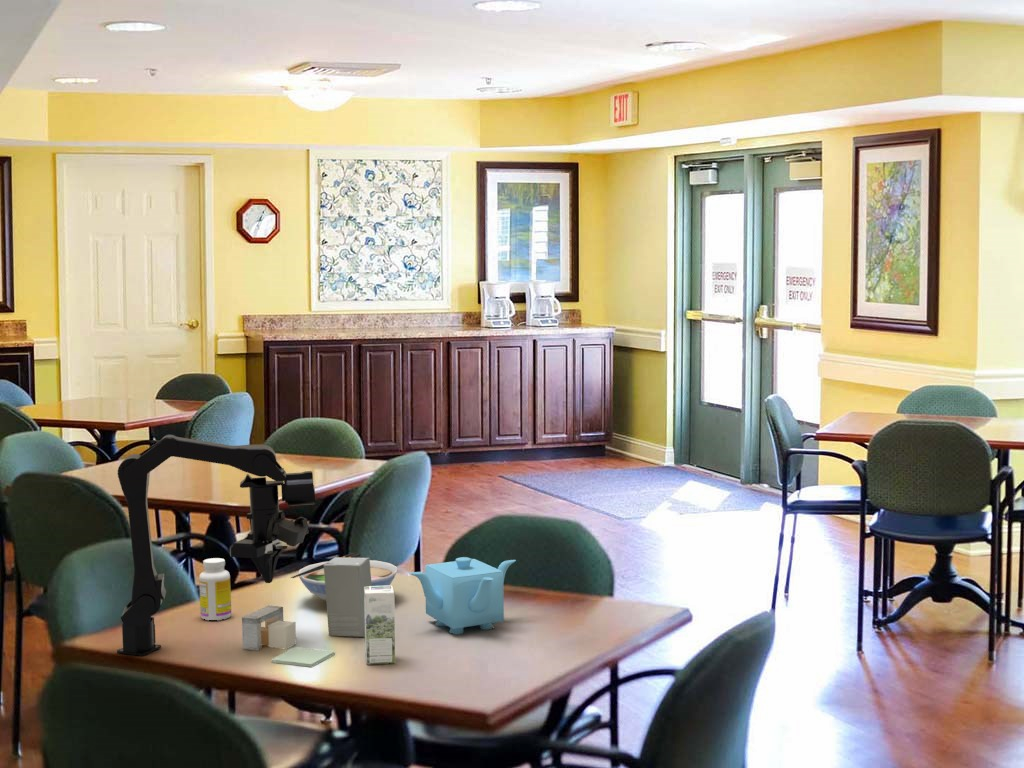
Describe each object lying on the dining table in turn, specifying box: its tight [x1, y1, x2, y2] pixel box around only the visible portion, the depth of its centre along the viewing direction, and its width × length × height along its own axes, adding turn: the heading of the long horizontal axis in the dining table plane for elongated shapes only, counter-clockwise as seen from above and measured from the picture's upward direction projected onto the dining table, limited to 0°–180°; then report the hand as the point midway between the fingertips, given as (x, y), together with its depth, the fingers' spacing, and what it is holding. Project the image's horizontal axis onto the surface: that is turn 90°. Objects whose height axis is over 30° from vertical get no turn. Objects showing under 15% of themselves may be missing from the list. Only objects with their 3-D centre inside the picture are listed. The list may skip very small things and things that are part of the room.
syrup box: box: [364, 584, 396, 665], centre depth 270 cm, size 6×6×14 cm
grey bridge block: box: [241, 604, 284, 651], centre depth 283 cm, size 10×4×6 cm, turn 158°
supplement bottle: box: [198, 557, 232, 621], centre depth 303 cm, size 7×7×13 cm
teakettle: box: [409, 556, 517, 635], centre depth 294 cm, size 19×19×15 cm
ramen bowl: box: [290, 552, 398, 601], centre depth 316 cm, size 25×23×8 cm
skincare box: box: [324, 556, 372, 638], centre depth 289 cm, size 8×7×16 cm
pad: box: [271, 646, 335, 668], centre depth 273 cm, size 9×9×1 cm
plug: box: [261, 620, 297, 650], centre depth 283 cm, size 4×10×4 cm, turn 68°
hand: (268, 582), depth 282 cm, fingers closed
